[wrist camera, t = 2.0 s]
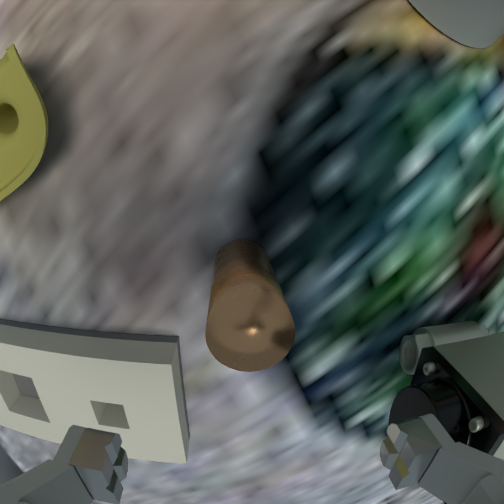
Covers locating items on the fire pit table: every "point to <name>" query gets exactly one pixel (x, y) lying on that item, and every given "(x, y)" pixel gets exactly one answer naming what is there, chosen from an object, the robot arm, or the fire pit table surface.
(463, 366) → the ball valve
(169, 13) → the fire pit table surface
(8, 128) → the plastic component
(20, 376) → the fitting block
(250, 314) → the brown cylinder
